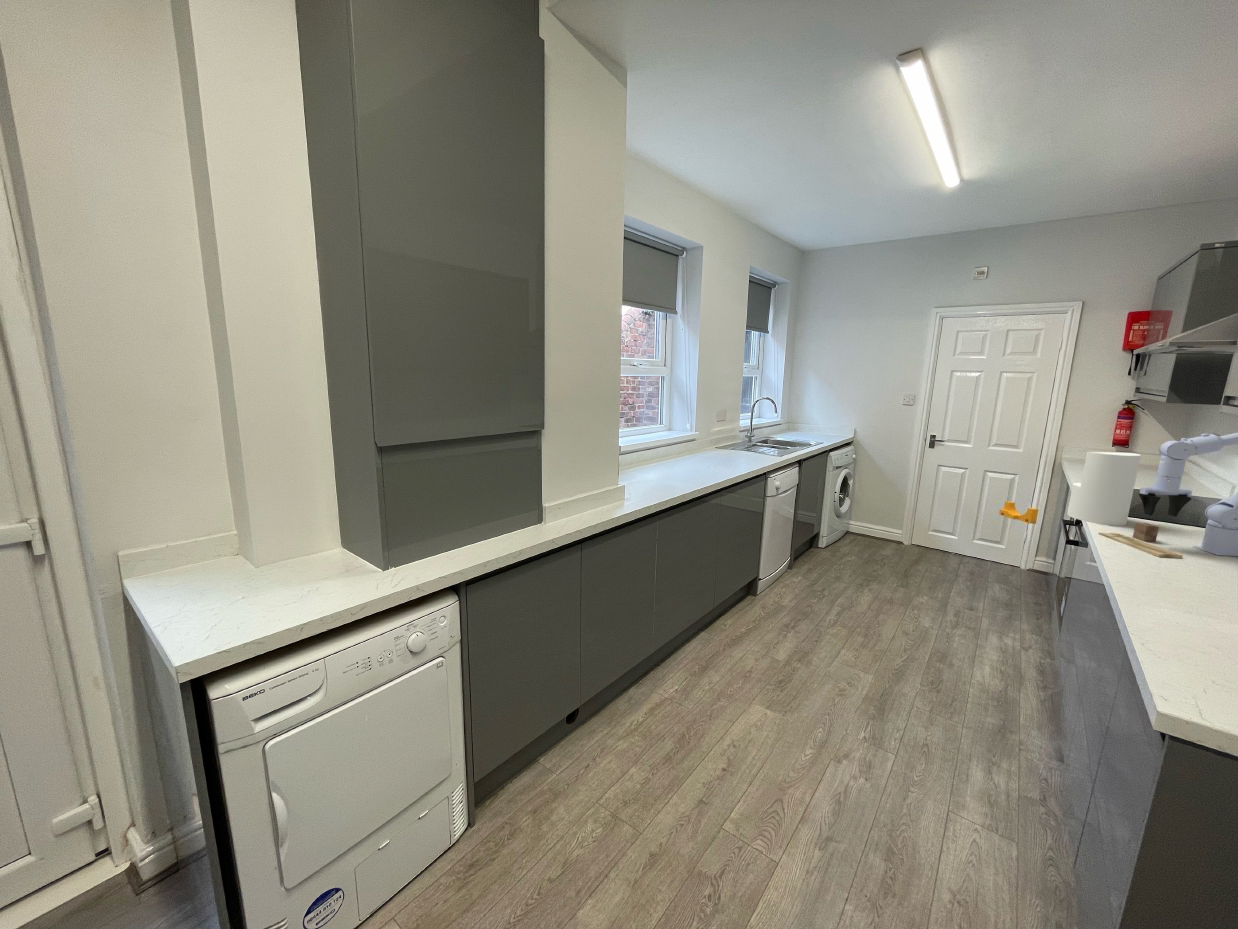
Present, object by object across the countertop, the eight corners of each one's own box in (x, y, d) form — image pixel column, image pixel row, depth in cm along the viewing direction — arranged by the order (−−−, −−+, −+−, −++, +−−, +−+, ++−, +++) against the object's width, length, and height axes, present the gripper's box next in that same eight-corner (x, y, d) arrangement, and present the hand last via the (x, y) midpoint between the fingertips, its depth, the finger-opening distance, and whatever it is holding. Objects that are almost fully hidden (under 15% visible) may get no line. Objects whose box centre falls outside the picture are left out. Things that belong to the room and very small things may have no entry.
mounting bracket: (998, 516, 201) (1001, 501, 200) (1008, 516, 202) (1010, 501, 201) (1025, 525, 189) (1028, 509, 188) (1035, 525, 190) (1038, 509, 189)
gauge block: (1144, 539, 175) (1147, 523, 174) (1155, 543, 171) (1159, 526, 170) (1132, 538, 175) (1135, 522, 174) (1143, 542, 171) (1146, 525, 170)
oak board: (1118, 536, 178) (1119, 533, 178) (1182, 558, 156) (1182, 554, 156) (1098, 535, 178) (1098, 532, 178) (1158, 557, 157) (1159, 553, 157)
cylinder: (1139, 527, 189) (1154, 456, 184) (1093, 526, 189) (1108, 455, 184) (1096, 515, 206) (1110, 449, 201) (1055, 514, 206) (1067, 448, 201)
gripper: (1180, 474, 169) (1171, 512, 171) (1134, 473, 170) (1126, 511, 172) (1202, 479, 162) (1192, 518, 164) (1155, 477, 163) (1146, 516, 165)
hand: (1160, 515), depth 168 cm, fingers open, 7 cm apart
